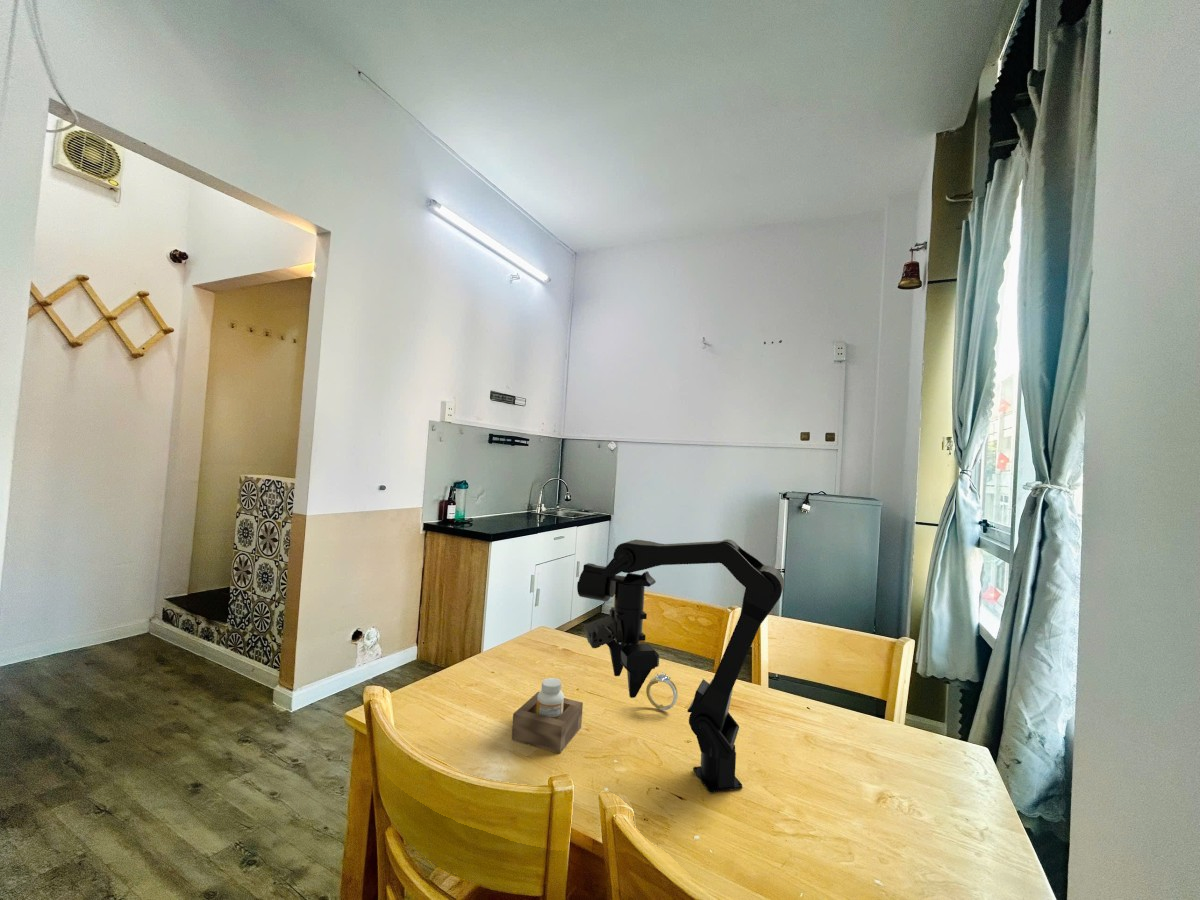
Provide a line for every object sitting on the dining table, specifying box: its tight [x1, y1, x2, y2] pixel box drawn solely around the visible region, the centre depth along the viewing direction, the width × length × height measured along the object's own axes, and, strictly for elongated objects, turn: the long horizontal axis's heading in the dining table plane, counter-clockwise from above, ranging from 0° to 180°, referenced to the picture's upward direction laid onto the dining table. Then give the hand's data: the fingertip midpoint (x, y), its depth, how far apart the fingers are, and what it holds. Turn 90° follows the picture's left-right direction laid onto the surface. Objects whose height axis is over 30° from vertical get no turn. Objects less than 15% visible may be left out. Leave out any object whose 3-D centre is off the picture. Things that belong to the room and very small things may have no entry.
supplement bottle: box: [536, 677, 565, 719], centre depth 97 cm, size 5×5×10 cm
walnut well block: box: [511, 691, 584, 755], centre depth 97 cm, size 10×10×5 cm
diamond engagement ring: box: [645, 672, 678, 712], centre depth 110 cm, size 7×3×8 cm, turn 62°
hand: (624, 686), depth 94 cm, fingers open, 9 cm apart
